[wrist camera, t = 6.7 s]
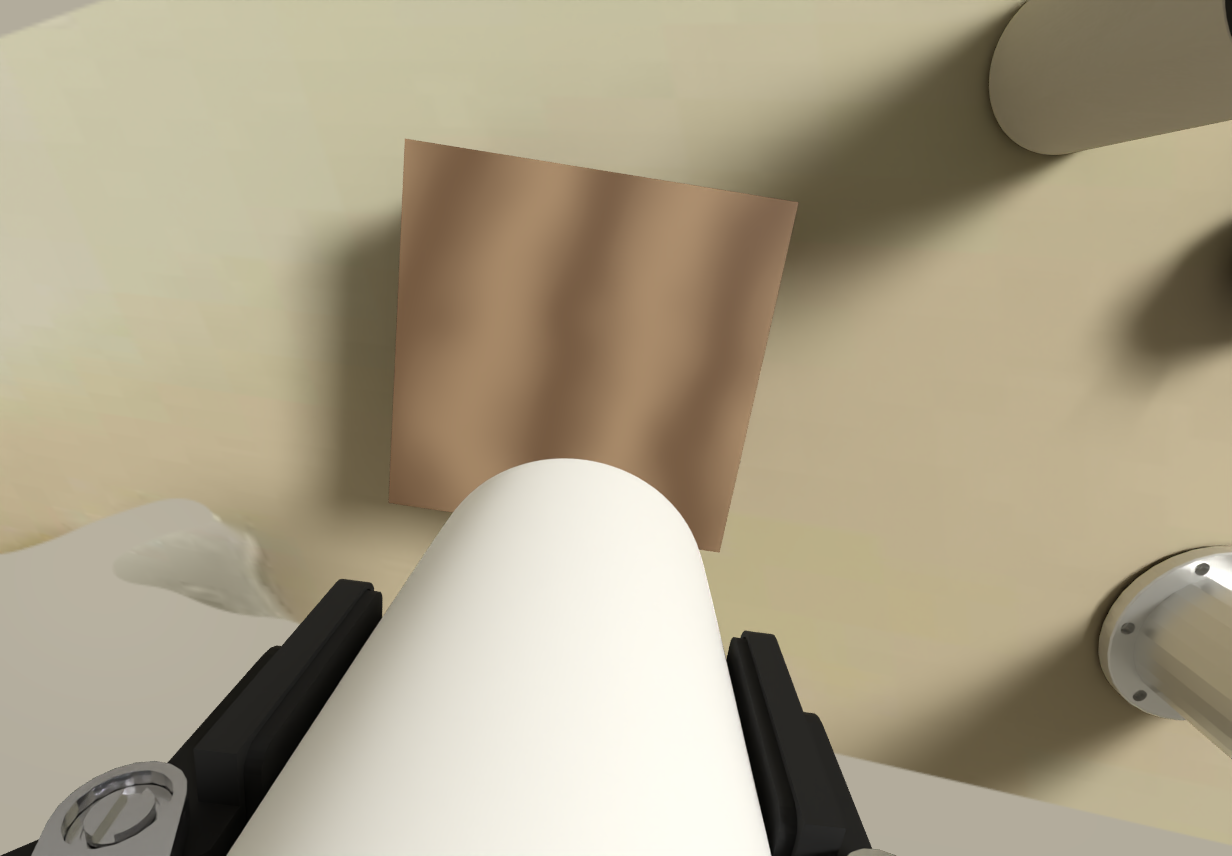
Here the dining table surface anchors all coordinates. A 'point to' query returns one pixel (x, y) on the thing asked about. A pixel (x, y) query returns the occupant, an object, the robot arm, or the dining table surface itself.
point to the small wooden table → (578, 326)
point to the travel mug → (1111, 71)
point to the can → (532, 693)
